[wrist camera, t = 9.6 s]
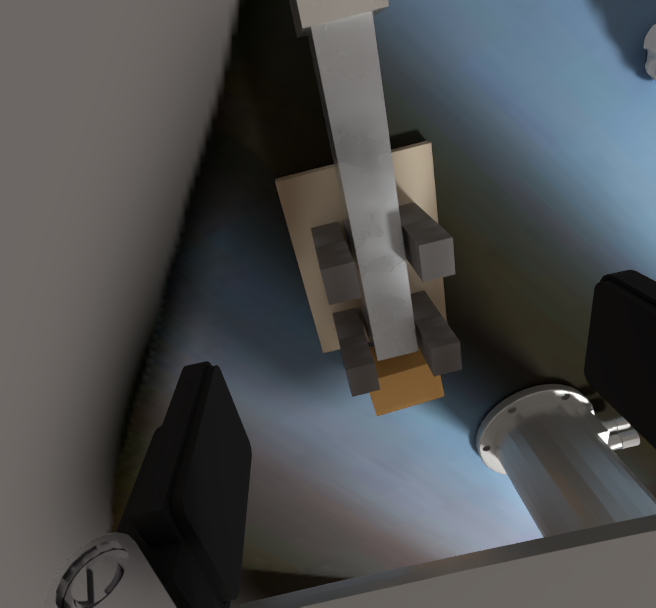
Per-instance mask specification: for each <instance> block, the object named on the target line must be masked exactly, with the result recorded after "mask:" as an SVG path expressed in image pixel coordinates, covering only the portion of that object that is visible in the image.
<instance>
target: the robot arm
mask: <svg viewBox="0 0 656 608" xmlns="http://www.w3.org/2000/svg"><path fill="white" fill-rule="evenodd" d="M584 374H585V377H586V380H587V381H588V383H589V384H590V385H591V386H592V387H593V388H594V389H595V390H596V391H597V392H598V393H599V394H600V395H601V396H602V397H603V398H604V399H605V400H606V401H607V402H608V403H609V404H610V405H611V406H612V407H613V408H614V409H615V410H616V411H617V412H618V413H619V414H620V415H618V416H614V417H610V418H609V419H605V420H602V419H600V418H596V417H595V411H594V409H593V406H592V404H591V403H590V402H589V400H588V399H587V398H586V397H585V396H584V395H583V394H582V393H581V392H580V391H578V390H576V389H574V388H572V387H570V386H566V385H560V384H546V385H538V386H534V387H530V388H527V389H524V390H522V391H519V392H517V393H515V394H513V395H511V396H509V397H508V398H506V399H505V400H503V401H502V402H500V403H499V404H498V405H496V406H495V407H494V408H493V409H492V410H491V411H490V412H489V413H488V415H487V416H486V417H485V419H484V420H483V421H482V423H481V425H480V427H479V429H478V432H477V436H476V447H477V451H478V453H479V455H480V457H481V459H482V461H483V462H484V463H485V465H486V466H487V467H489V468H490V469H492V470H493V471H495V472H498V473H501V474H505V475H508V477H509V478H510V480H511V482H512V484H513V485H514V487H515V489H516V490H517V492H518V494H519V496H520V497H521V499H522V501H523V503H524V504H525V506H526V508H527V509H528V511H529V513H530V515H531V516H532V518H533V520H534V522H535V523H536V525H537V527H538V528H539V530H540V532H541V534H542V535H543V537H544V538H540V539H535V540H530V541H525V542H521V543H516V544H511V545H506V546H502V547H497V548H492V549H487V550H483V551H478V552H473V553H468V554H464V555H459V556H455V557H450V558H445V559H441V560H436V561H431V562H427V563H422V564H417V565H413V566H408V567H403V568H399V569H394V570H390V571H385V572H380V573H376V574H371V575H366V576H362V577H357V578H352V579H348V580H343V581H339V582H334V583H330V584H326V585H321V586H317V587H313V588H309V589H304V590H300V591H296V592H291V593H287V594H283V595H279V596H274V597H270V598H266V599H262V600H257V601H253V602H249V603H245V604H242V605H238V606H235V607H231V608H656V499H655V498H654V496H653V495H652V494H651V493H650V492H649V491H648V490H647V489H646V487H645V486H644V485H643V484H642V483H641V482H640V481H639V480H638V479H637V477H636V476H635V475H634V474H633V473H632V472H631V471H630V470H629V469H628V467H627V466H626V465H625V464H624V463H623V462H622V461H621V460H620V458H619V457H618V456H617V455H616V454H615V453H614V452H613V451H612V450H616V449H623V448H627V447H631V446H636V445H639V443H640V438H639V436H638V434H637V432H636V431H635V430H634V429H633V428H632V427H630V424H631V425H632V426H633V427H634V428H635V429H636V430H637V431H638V432H639V433H640V434H641V435H642V436H643V437H644V438H645V439H646V440H647V441H648V442H649V443H650V444H651V445H652V446H653V447H654V448H655V449H656V281H654V280H652V279H650V278H648V277H646V276H644V275H642V274H640V273H638V272H637V271H634V270H626V271H621V272H617V273H612V274H608V275H605V276H603V277H602V279H601V280H600V282H599V283H597V284H596V286H595V289H594V296H593V304H592V312H591V320H590V328H589V335H588V343H587V351H586V359H585V367H584ZM251 458H252V453H251V446H250V442H249V439H248V437H247V434H246V432H245V429H244V427H243V424H242V422H241V419H240V417H239V414H238V412H237V409H236V407H235V404H234V402H233V399H232V397H231V395H230V392H229V390H228V387H227V385H226V382H225V380H224V377H223V375H222V372H221V370H220V368H219V366H217V365H215V366H212V365H211V364H210V362H208V361H206V362H202V363H197V364H192V365H188V366H185V367H184V368H183V370H182V372H181V375H180V378H179V381H178V383H177V386H176V389H175V391H174V394H173V397H172V400H171V402H170V405H169V408H168V411H167V413H166V416H165V419H164V422H163V424H162V426H160V427H159V428H157V429H156V431H155V433H154V435H153V437H152V440H151V443H150V445H149V448H148V450H147V453H146V456H145V458H144V461H143V464H142V466H141V469H140V471H139V474H138V477H137V479H136V482H135V485H134V487H133V490H132V492H131V495H130V498H129V500H128V503H127V506H126V508H125V511H124V513H123V516H122V519H121V521H120V524H119V527H118V529H117V532H116V533H110V534H105V535H103V536H100V537H98V538H96V539H93V540H92V541H90V542H89V543H87V544H85V545H84V546H82V547H81V548H80V549H78V550H77V551H76V552H75V553H74V554H73V555H72V556H71V557H70V558H69V559H67V561H66V562H65V563H64V565H63V566H62V567H61V568H60V569H59V571H58V572H57V573H56V575H55V577H54V579H53V581H52V583H51V585H50V586H49V589H48V593H47V596H46V600H45V608H230V601H231V600H235V599H237V597H238V594H239V588H240V576H241V566H242V555H243V545H244V534H245V523H246V512H247V501H248V491H249V480H250V469H251Z"/></svg>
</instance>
